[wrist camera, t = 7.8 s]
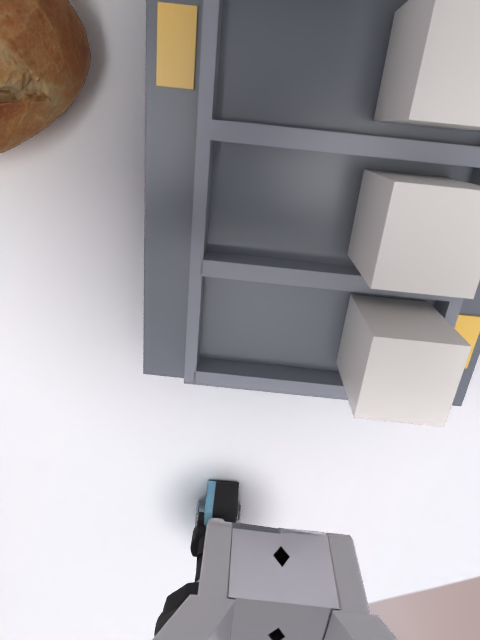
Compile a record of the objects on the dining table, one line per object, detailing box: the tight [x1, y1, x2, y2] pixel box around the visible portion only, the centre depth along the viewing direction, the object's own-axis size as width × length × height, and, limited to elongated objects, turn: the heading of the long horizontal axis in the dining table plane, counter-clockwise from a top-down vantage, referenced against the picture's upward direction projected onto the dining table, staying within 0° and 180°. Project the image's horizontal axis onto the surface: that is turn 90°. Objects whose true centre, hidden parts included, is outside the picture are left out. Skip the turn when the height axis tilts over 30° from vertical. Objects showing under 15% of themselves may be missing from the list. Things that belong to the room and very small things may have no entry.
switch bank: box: [143, 0, 480, 406], centre depth 21 cm, size 20×18×4 cm
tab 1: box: [374, 0, 480, 131], centre depth 16 cm, size 4×4×5 cm
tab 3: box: [336, 294, 472, 427], centre depth 21 cm, size 4×4×5 cm
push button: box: [154, 481, 241, 636], centre depth 27 cm, size 7×5×10 cm
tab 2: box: [347, 169, 480, 299], centre depth 19 cm, size 4×4×5 cm
